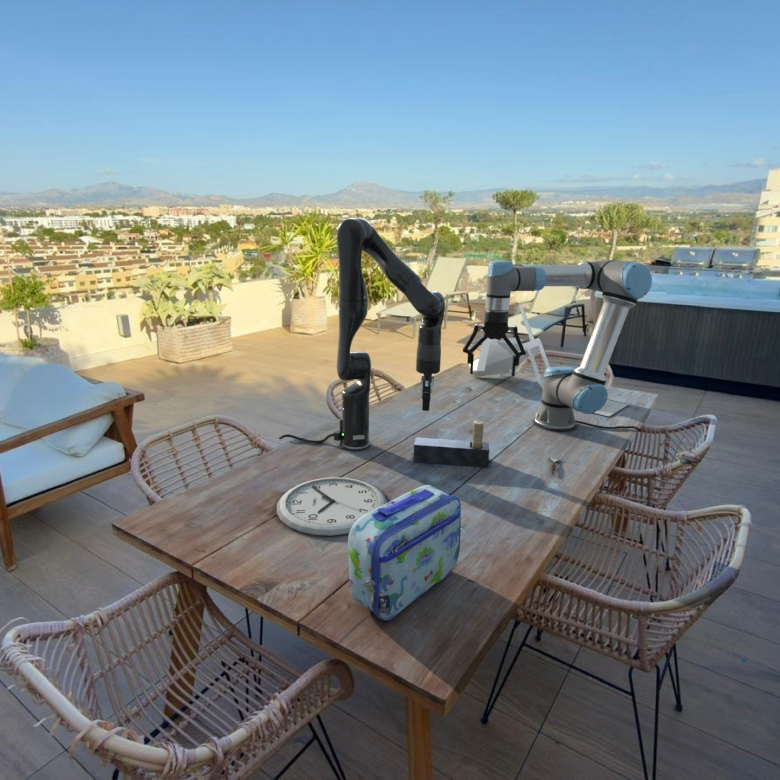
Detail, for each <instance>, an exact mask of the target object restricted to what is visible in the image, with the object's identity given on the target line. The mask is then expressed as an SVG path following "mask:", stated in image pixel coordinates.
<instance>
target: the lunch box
mask: <svg viewBox="0 0 780 780" xmlns="http://www.w3.org/2000/svg"><path fill="white" fill-rule="evenodd" d="M461 520H462V506H461V500H460V498H459V497H458V496H457V495H454V494H450V495H449V494H448V493H445V492H444V491H442V490H440V489H438V488H436V487H435V486H432V485H430V484H425V485H420V486H418V487H416V488H415V489H412V490H410V491H408V492H406V493H404V494H402V495H400V496H398V497H396V498H394V499H392V500H390V501H387V503H386V504H384V505H382V506H380V507H378V508H376V509H375V510H373V511H371V512H369V513H366V514H365V515H363V516H361V517H359V518H358V519H357V520H356V521H355V523H354V524H353V526H352V528H351V530H350V533H349V534H348V536H347V537H348V538H347V557H348V559H347V560H348V586H349V592H350V597H351V599H352V600H353V601H355V602H356V603H358V604H360V605H362V606H364V607H365V608H366V609H368V610H369V611H371V612H372V613H374V615H375V616H376V617H377V618H379V619H380V620H383V621H390V620H393V619H394V618H395V617H397V616H398V615H399V614H400V613H401V612H402V611H403V610H405V609H406V608H407V607H408V606H409V605H411V604H412V603H414V602H415V601H416V600H417V599H419V598H420V597H421V596H422V595H424V594H425V593H426V592H427V591H429V589H431V588H432V587H433V586H435V585H436V584H438V583H439V582H440V581H442V580H444V579H445V578H446V577H448V575H450V573H451V572H452V571H453V570H454V568H455V566H456V564H457V562H458V559H459V555H460V552H461V551H460V549H461V535H462V534H461V533H462V521H461Z"/></svg>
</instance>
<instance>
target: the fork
mask: <svg viewBox="0 0 780 780" xmlns="http://www.w3.org/2000/svg"><path fill="white" fill-rule="evenodd" d="M550 460H551V461H552V462H553V463H552V464H551V475H554V472H555V470H556V467H557V466H556V462H559V461H560V453H558V452H556V451H554V450H552V451H551V456H550Z"/></svg>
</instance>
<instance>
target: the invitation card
mask: <svg viewBox="0 0 780 780" xmlns="http://www.w3.org/2000/svg"><path fill="white" fill-rule="evenodd" d="M628 406H629V404H627V403H623V402H618V401H614V400H609V399H607V401H606V403H605V404H604V406H603V407H602V408H601V409H600V410H598V411H596V412H595V413H594V414H596V415H600V416H604V417H608V418H609V417H611V416H613V415H614V414H616V413H617V412H619V411H621V410H623V409H624V408H626V407H628Z"/></svg>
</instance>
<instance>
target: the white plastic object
mask: <svg viewBox="0 0 780 780" xmlns="http://www.w3.org/2000/svg"><path fill="white" fill-rule="evenodd" d="M519 310H520V314H521V316H522V320H523V323H524V326H525V329H526V331H527V335H528V338H529V341H527V342H524V343H522V345H523V347H524V350H525V352H526V354H525V355H521V356H520V358H519V364H521V363H523V362H524V361H526V360H527V359H528V357H529V360H530V363H531V366H532V369H533V372H534V375H535V379H536V382H537V383H538V385H539V386H540V388H541V389H542V390H543V380H542V379H543V378H542V377H541V373H540V371H539V367H538V364H537V362H536V359H535V355H534V354H537V353H540V354H541V357H542V360H543V363H544V366H545V370H546V369H547V368H549V367H551V365H550V363H549V360H548V356H547V354H546V352H545V351H546V350H545V348H544V346H543V342H542V341H541V339H540V337H537V338H535V337H534V334H533V330H532V328H531V325H530V323H529V319H528V316H527V313H526V311H525V309H524V307H523V306H520V307H519ZM508 339H509V340H510V341H511V343H512V344H513V345H514V347H515V348H516V349H517V351H518V352H519V351H520V348H519V346H518V344H517V341H516V339H515V337H510V338H508ZM513 355H515V354H514V352H513V351H512V350H511V348H510V347H509V346H508V344H507V343H506V342H505V341H504V339H500V340H497V339H489V338H487V339H486V340H485V341H484V342H483V343H482V344H481V345H480V352H479V356H478V358H477V359H475V360H474V361H473V374H472V375H473V377H475V378H477V377H488V376H495V375H500V376H505V375H507V374H509V373H511V371H512V360H513ZM468 366H469V367H470V366H471V364H468Z"/></svg>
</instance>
